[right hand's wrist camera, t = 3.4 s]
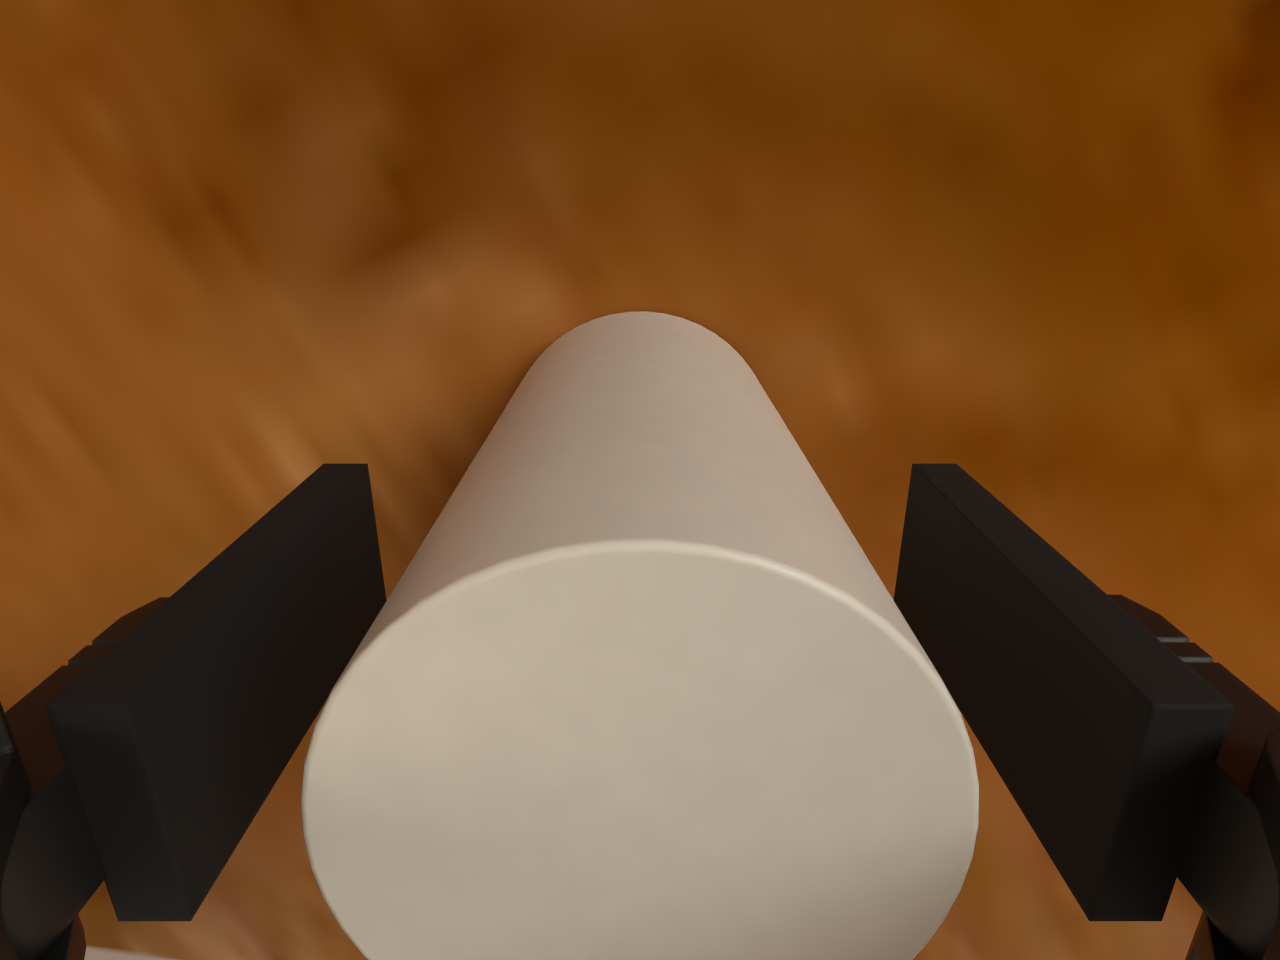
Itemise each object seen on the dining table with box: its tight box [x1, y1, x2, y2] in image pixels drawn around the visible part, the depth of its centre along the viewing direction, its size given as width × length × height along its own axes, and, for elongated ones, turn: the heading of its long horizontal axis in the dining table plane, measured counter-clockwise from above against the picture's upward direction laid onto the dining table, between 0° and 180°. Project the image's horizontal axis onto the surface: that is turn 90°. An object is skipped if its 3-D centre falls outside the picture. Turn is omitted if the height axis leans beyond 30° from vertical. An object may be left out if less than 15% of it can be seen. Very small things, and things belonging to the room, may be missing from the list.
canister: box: [301, 311, 979, 960], centre depth 13 cm, size 6×6×12 cm
